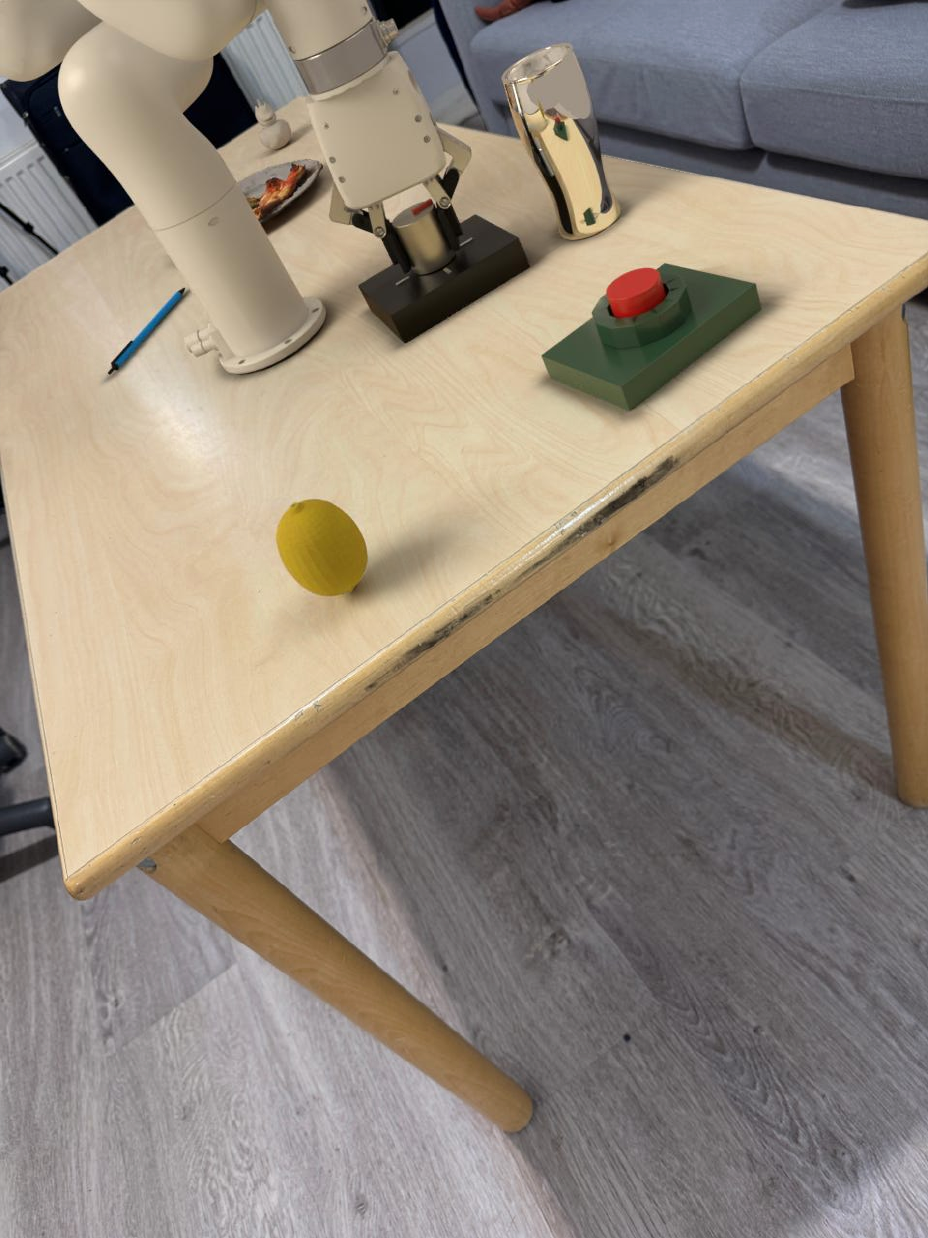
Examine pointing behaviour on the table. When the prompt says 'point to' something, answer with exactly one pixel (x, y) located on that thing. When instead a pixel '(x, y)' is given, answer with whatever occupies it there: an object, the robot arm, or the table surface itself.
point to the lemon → (321, 547)
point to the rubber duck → (272, 127)
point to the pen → (144, 332)
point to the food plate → (278, 186)
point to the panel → (445, 280)
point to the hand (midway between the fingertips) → (431, 254)
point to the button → (635, 292)
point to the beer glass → (562, 138)
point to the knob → (423, 238)
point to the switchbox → (651, 337)
